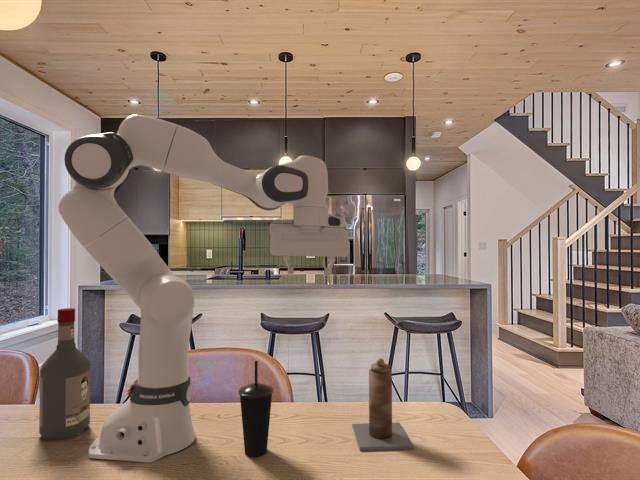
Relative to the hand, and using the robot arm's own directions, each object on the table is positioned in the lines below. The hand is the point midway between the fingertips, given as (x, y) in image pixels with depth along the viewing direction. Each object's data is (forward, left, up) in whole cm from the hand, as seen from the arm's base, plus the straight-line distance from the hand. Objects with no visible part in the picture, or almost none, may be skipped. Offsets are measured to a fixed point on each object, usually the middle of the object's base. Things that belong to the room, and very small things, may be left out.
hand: (309, 274), depth 103 cm
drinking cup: (-12, -12, -39) cm, 42 cm away
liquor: (-60, +1, -39) cm, 72 cm away
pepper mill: (+17, -7, -38) cm, 42 cm away
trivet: (+17, -7, -38) cm, 42 cm away
